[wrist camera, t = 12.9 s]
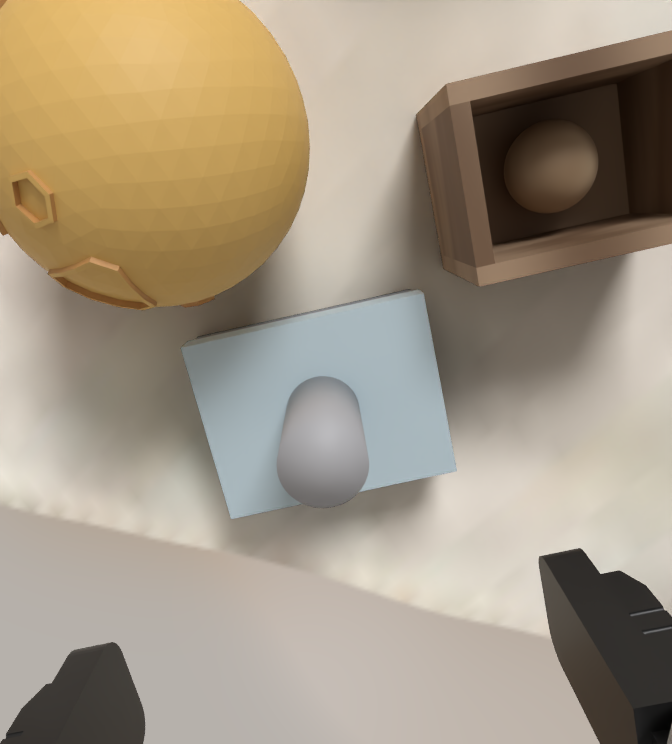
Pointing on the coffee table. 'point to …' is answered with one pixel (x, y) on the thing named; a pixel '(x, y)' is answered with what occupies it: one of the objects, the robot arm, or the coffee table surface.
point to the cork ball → (551, 166)
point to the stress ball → (147, 145)
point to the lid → (322, 405)
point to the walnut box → (536, 104)
